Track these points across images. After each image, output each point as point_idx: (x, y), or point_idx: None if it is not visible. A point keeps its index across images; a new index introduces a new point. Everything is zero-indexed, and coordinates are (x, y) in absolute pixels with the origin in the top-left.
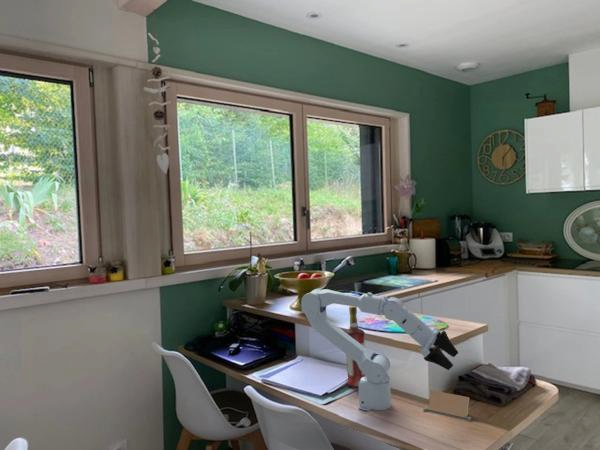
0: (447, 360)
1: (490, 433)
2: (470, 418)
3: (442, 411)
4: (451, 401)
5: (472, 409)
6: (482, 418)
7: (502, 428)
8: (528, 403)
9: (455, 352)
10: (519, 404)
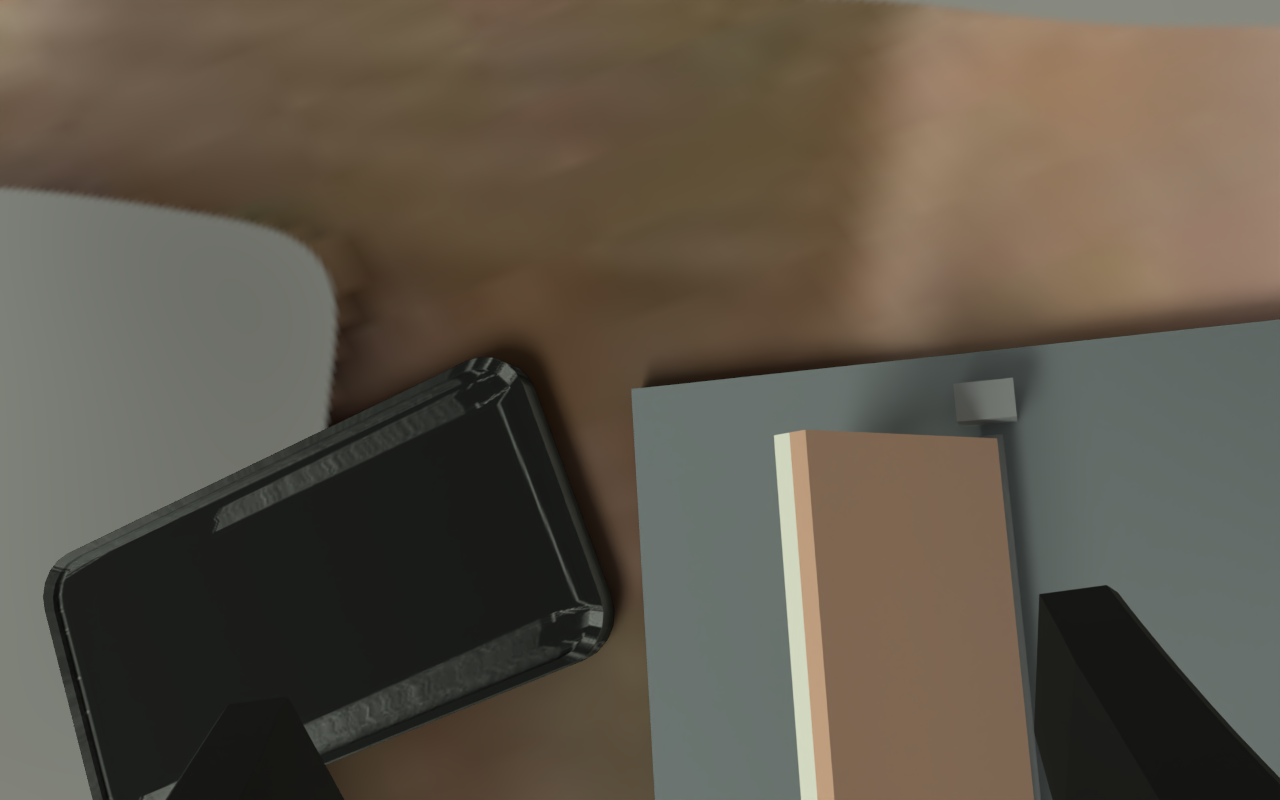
0: (1250, 747)
1: (1103, 115)
2: (992, 381)
3: (1021, 776)
4: (903, 680)
5: (584, 514)
6: (761, 331)
7: (891, 61)
8: (159, 78)
9: (289, 775)
10: (219, 139)
